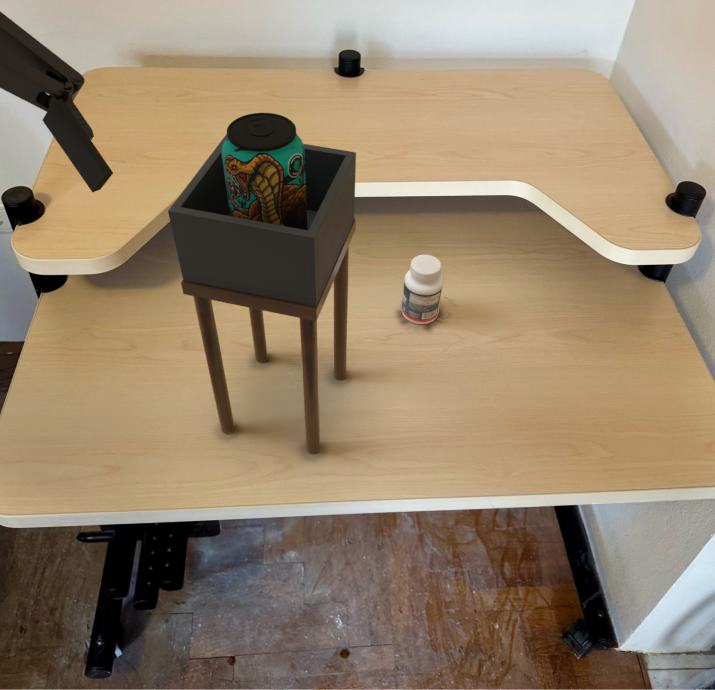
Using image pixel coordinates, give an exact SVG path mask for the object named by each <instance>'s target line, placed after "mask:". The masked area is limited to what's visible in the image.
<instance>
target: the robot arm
mask: <svg viewBox="0 0 715 690" xmlns="http://www.w3.org/2000/svg"><path fill="white" fill-rule="evenodd" d="M85 81H86V80H85V77H84V76H83V75H82V74H81V73H80V72H79V71H77V70H76V69H75V68H74V67H72V66H71V65H70V64H69V63H67V62H66V61H65V60H63V59H62V58H61V57H59V56H58V55H57V54H56V53H54V52H53V51H52V50H51V49H50V48H48V47H47V46H46V45H44V44H43V43H42V42H40V41H39V40H38V39H36V38H35V37H34V36H33V35H31V34H30V33H29V32H28V31H26V30H25V29H24V28H22V27H21V26H20V25H19V24H17V23H16V22H15V21H13V20H12V19H11V18H9V17H8V15H6V14H4V13H3V12H2V11H0V89H2V90H3V91H5V92H8V93H9V94H11V95H13V96H15V97H17V98H19V99H21V100H22V101H25V102H27V103H28V104H31V105H33V106H35V108H39V109H41V110H42V111H43V112H46V113H45V114H44V116H43V118H42V122H43V124H44V125H45V126H46V128H47V129H48V131H49V132H50V133H51V135H52V136H53V139H54V140H55V141H56V142H57V144H58V145H59V146H60V148H61V149H62V152H64V154H65V155H66V157H67V158H68V159H69V161H70V163H71V164H72V165H73V167H74V168H75V170H76V171H77V172H78V174H79V176H80V177H81V178H82V180H83V181H84V183H85V184H86V185H87V187H88V188H89V190H90V191H91V193H95V192H99V191H100V190H101V189H102V188H103V187H104V185H105V184H107V182H108V181H109V179H111V177H112V176H113V174H114V172H113V170H112V168H111V167H110V166H109V165H108V163H107V162H106V160H105V158H104V157H103V156H102V154H101V153H100V152H99V150H98V148H97V147H96V145H95V144H94V142H93V141H92V140H93V138H94V137H95V134H94V131H93V128H92V127H91V126H90V124H89V123H88V121H87V120H86V119H85V117H84V115H83V114H82V113H81V111H80V109H79V108H78V107H77V105H76V104H75V102H74V101H75V99H76V97H77V96H78V94H79V92H80V91H81V89H82V87H83V86H84V84H85Z"/></svg>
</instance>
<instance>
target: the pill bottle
mask: <svg viewBox="0 0 715 690" xmlns="http://www.w3.org/2000/svg"><path fill="white" fill-rule="evenodd" d="M441 272H442V262H441V261H440V259H439V258H438V257H436V256H434V255H431V254H419V255H416V256H415V257H413V258H412V260H411V262H410V267H409V270H408V271H407V272H406V273H405V275H404V281H403V289H402V299H401V313H402V315H403V317H404V318H405V319H406V320H407V321H408V322H410V323H413V324H418V325H427V324H430V323H432V322H434V321H435V320H437V318H438V316H439V313H440V306H441V298H442V293H443V289H444V288H443V287H444V277H443V275H442V273H441Z"/></svg>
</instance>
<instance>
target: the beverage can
mask: <svg viewBox="0 0 715 690" xmlns="http://www.w3.org/2000/svg"><path fill="white" fill-rule="evenodd" d="M226 134H227V138H226V140H225V142H224V144H223V146H222V160H223V168H224V175H225V182H226V189H227V196H228V203H229V211H230V216H232V217H237V218H243V219H248V220H253V221H259V222H264V223H270V224H275V225H281V226H286V227H291V228H297V229H302V230H308V229H307V202H306V175H305V148H304V144H305V143H304V141H303V140H302V139H301V137H300V136H299V134H298V133H297V126H296V124H295V123H294V122H293V120H291V119H290V118H288V117H286V116H284V115H281V114H278V113H274V112H254V113H249V114H245V115H242V116H240V117H237V118H235V119H234V120H233V121H231V122H230V123H229V124H228V126H227V129H226Z"/></svg>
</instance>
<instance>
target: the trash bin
mask: <svg viewBox="0 0 715 690" xmlns="http://www.w3.org/2000/svg"><path fill="white" fill-rule="evenodd" d="M226 138H227V133H226V134H225V136H224V137H223V138H222V139H221V140H220V142H219V143H218V145H216V147H215V148H214V150H213V151H212V152H211V154H210V155H209V156H208V157H207V159H206V160H205V162H204V163H203V164H202V166H201V167H200V168H199V169H198V171H197V172H196V174H195V175H194V176H193V177H192V178H191V180H190V181H189V183H187V185H186V187H184V189H183V191H182V192H181V193H180V194H179V196H178V197H177V198H176V200H175V201H174V202H173V204H172V205H171V206H170V207H169V208H168V210H167V213H168V218H169V222H170V226H171V231H172V236H173V240H174V245H175V249H176V254H177V258H178V263H179V267H180V272H181V277H182V280H184V281H189V282H194V283H199V284H204V285H209V286H214V287H219V288H224V289H229V290H234V291H239V292H244V293H249V294H254V295H259V296H264V297H269V298H274V299H278V300H283V301H288V302H293V303H298V304H303V305H308V306H313V307H316V306H317V304H318V302H319V299H320V297H321V295H322V292H323V290H324V288H325V285H326V283H327V281H328V279H329V276H330V274H331V272H332V269H333V267H334V265H335V262H336V260H337V258H338V256H339V253H340V251H341V249H342V246H343V244H344V242H345V240H346V237H347V235H348V233H349V230H350V228H351V226H352V223H353V221H354V218H355V206H356V205H355V201H356V199H355V198H356V167H357V164H356V163H357V152H355V151H350V150H343V149H338V148H333V147H332V148H331V147H326V146H319V145H314V144H309V143H308V144H307V143H303V144H304V148H305V175H306V202H307V229H308V230H302V229H297V228H291V227H286V226H281V225H275V224H270V223H264V222H259V221H253V220H248V219H243V218H237V217H232V216H230V211H229V203H228V196H227V189H226V182H225V175H224V168H223V160H222V146H223V144H224V142H225V140H226Z"/></svg>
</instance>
